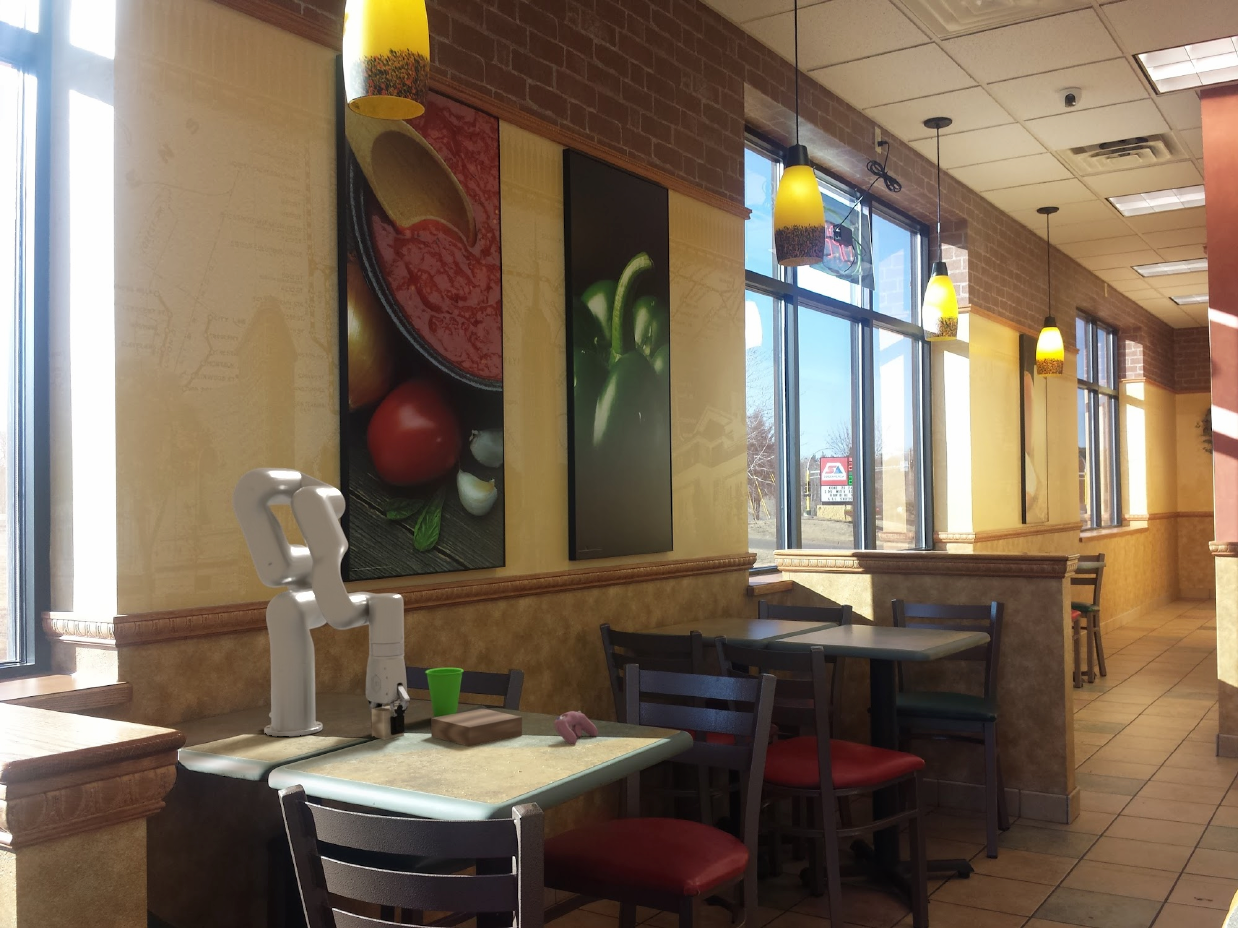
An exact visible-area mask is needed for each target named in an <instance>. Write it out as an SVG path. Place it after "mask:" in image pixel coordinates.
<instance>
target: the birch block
mask: <svg viewBox="0 0 1238 928" xmlns="http://www.w3.org/2000/svg"><path fill="white" fill-rule="evenodd" d="M395 707H396V709H397V707H398V706H395ZM371 712H372V729H371V737H373V736H375V737H374V738H378V739H380V738H381V740H384V739H385V740H388V738H390V739H394V738H399V737H398V736H400V737H405V732H404V733H402V734H396V735H391V722H390V716H393V715H392V712H391V708H390V705H386V706H384V707H380V708H374V709H372V711H371Z"/></svg>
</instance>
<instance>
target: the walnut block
mask: <svg viewBox="0 0 1238 928" xmlns="http://www.w3.org/2000/svg"><path fill="white" fill-rule="evenodd" d="M430 719H431V720H430V723H431V724H430V725H431V737H432V738H435V739H439V740H443V741H446V742H451V743H455V744H459V745H462V746H467V747H470V748H471V747H475V746H478V745H479V746H480V745H483V744H487V743H492V742H493V743H494V742H498V741H503V740H507V739H511V738H516V737H520V736H523V717H522V716H520V715H515V714H510V713H505V712H501V711H500V712H499V711H496V710H490V709H486V708H478V709H473V710H469V711H464V712H463V711H462V712H458V713H456V714H451V715H446V716H440V717H431V718H430Z"/></svg>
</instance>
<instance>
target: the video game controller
mask: <svg viewBox="0 0 1238 928" xmlns="http://www.w3.org/2000/svg"><path fill="white" fill-rule="evenodd" d="M553 725H554V726H553V727H554V729H555V731H556V733H557V734H558V735H560V737H561V738H562V739H563V740H564V741H565V742H566V743H568V744H569V745H576V744H577V742H578V738H580V737H582V735H583V732H585V733H586V734H587V735H588V736H590V737H597V735H598V734H599V733H598V728H597V727H596V725H595V724H594V722H592V721H591V720H590V719H589V718H588V717H587V716H586V715H585V714H584V713H582V711H581V710H578V711H573V710H572V711H568V712H565V713H562V714H561V715H560V716H559V717H557V718H556V719H555V720H554V724H553ZM570 727H571V728H570Z"/></svg>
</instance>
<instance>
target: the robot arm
mask: <svg viewBox="0 0 1238 928" xmlns="http://www.w3.org/2000/svg"><path fill="white" fill-rule="evenodd" d="M231 501H232V509H233V513H234V515H235V518H236V520H237V523H238V525H239V527H240V530H241V532H242V534H243V537H244V539H245V542H246V546H247V549H248V552H249V554H250V558H251V560H252V563H253V566H254V569H255V571H256V574H257V577H258V579H259V580H260V582H261V583H262V585H264V586H266V587H268V588H273V589H274V588H282V587H283V588H285V587H287V590H286V591H283V592H280V593H277V594H276V595H275V596H274V597H272V598H271V600H270V601H269V602H268V605H267V608H266V611H265V619H266V625H267V631H268V637H269V644H270V645H269V646H270V647H269V649H270V650H269V651H270V697H271V698H270V704H271V705H270V707H271V708H270V709H271V710H270V712H269V713H268V716H269V718H270V719H271V723H270V724H269V725H266V726H265V727H264V728H263V733H264V734H265V733H266V734H267V735H266V734H265V735H266V736H269V735H272V736H271V737H277V736H289V737H298V736H300V735H301V736H306V735H311V734H315V733H318V732H320V731H322V729H323V723H322V722H321V721H316V666H315V664H316V660H315V657H316V655H315V645H314V644H315V643H314V641H313V637H312V635H311V631H310V630H311V629H315V628H320V627H322V626H324V625H325V624H326V623H327V624H328V625H329V626H331V627H332V628H333V629H336V630H349V629H352V628H357V627H363V626H366V625H368V639H369V640H368V641H369V642H368V646H369V647H368V648H369V649H368V650H369V655H368V658H367V665H366V673H365V676H366V677H365V698H366V699H367V701H368V704H369V712H370V721H371V722H370V726H371V727H370V728H371V730H372V709H374V708H380V707H385V706H384V705H386V706H390V708H391V712H392V715H393V716H390V722H391V735H396V734H402V733H404V734H405V729H406V728H405V715H406V714H407V709H408V707H409V704H410V702H411V699H410V697H409V695H408V685H407V683H408V682H407V672H406V671H407V670H406V663H405V618H404V616H405V615H404V613H405V612H404V610H405V607H404V604H405V603H404V598H403V596H402V595H401V594H398V593H394V592H393V593H391V592H389V593H386V592H385V593H384V592H383V593H373V592H367V591H356V592H350V593H348V592H347V589H346V587H345V585H344V582H343V579H342V574H341V563H342V561H343V560H342V559H343V558H344V555H345V553H346V552H347V551H348V548H349V542H348V540H347V539H348V538H346V535H345V533H344V531H343V528H342V526H341V524H340V522H339V519H340V518H342V516H343V514H344V513H345V510H346V500H345V497H344V496H343V494H342V492H341V491H340V490H339V489H337V488H336V487H335V486H333V485H331V484H329V483H326V482H324V481H322V480H320V479H318V478H315V477H314V476H311V475H308V474H306V473H304V472H302V471H299V470H297V469H294V468H289V467H286V468H284V467H257V468H253V469H251V470H249V471H246V473H244V474H243V475H241V477H240V478H239V479H238V480H237V483H236V484H235V486H234V490H233V492H232V500H231ZM272 505H273V506H275V505H276V506H277V505H279V506H280V505H287V506H289V507H290V510H291V512H292V514H293V518H294V520H295V522H296V525H297V527H298V529H299V531H300V534H301V536H302V539H303V541H304V543H305V545H302V544H297V543H295V544H294V543H291V544H290V543H289V541H288V538H287V537H286V534H285V531H284V529H283V526H282V523H281V521H280V520H279V518H278V517H277V516H276V515H275V513H274V512H273V511H272V509H271V506H272ZM396 707H397V709H396ZM301 736H300V737H301Z"/></svg>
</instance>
